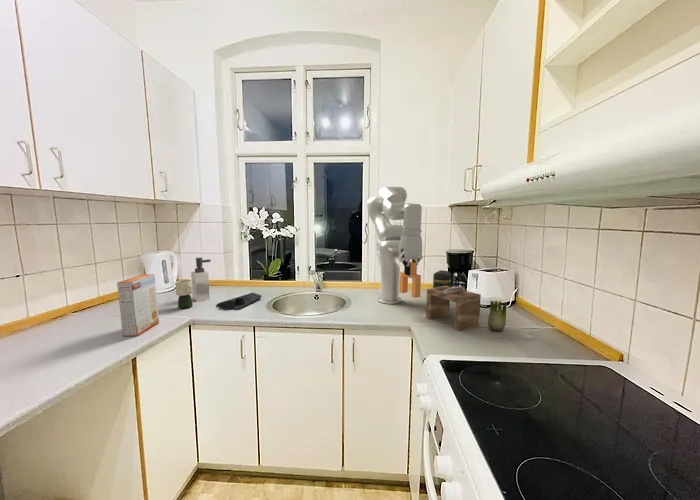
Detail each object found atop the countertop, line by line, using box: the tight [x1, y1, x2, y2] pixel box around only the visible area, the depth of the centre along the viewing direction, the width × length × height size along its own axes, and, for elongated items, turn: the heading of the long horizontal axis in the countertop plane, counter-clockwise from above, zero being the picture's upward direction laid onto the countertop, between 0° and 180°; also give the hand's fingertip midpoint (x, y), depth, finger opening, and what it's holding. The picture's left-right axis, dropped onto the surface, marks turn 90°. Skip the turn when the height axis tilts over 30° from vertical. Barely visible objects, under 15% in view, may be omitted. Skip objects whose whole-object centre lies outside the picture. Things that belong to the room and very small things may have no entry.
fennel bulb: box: [487, 300, 508, 332], centre depth 123 cm, size 6×5×12 cm
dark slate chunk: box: [215, 292, 262, 311], centre depth 159 cm, size 15×22×5 cm
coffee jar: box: [432, 269, 452, 309], centre depth 149 cm, size 10×8×19 cm
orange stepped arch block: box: [399, 260, 422, 299], centre depth 138 cm, size 10×3×14 cm, turn 32°
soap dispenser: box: [190, 257, 212, 302], centre depth 165 cm, size 6×9×22 cm
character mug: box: [174, 279, 193, 309], centre depth 151 cm, size 11×7×13 cm, turn 60°
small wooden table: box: [425, 285, 481, 332], centre depth 133 cm, size 18×12×15 cm, turn 32°
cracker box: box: [116, 273, 160, 337], centre depth 122 cm, size 14×6×21 cm, turn 1°
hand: (410, 274), depth 138 cm, fingers closed on orange stepped arch block, 3 cm apart
